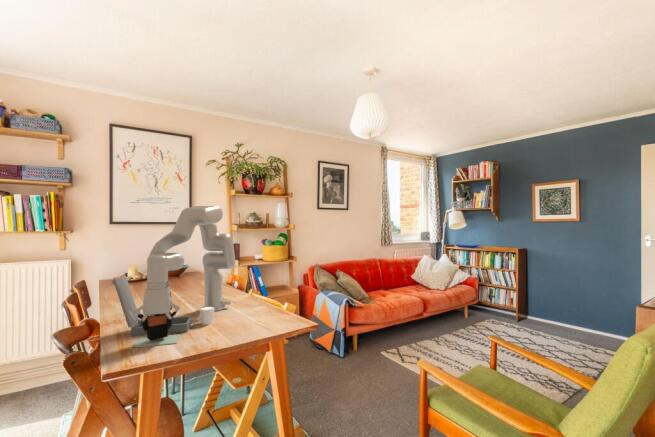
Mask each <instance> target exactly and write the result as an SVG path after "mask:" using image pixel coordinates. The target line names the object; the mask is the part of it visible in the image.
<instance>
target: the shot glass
mask: <svg viewBox="0 0 655 437" xmlns="http://www.w3.org/2000/svg"><path fill="white" fill-rule="evenodd" d="M202 307H203V306H202ZM202 307H201V308H199V310H198V311H199V320H200V321H199V322H200V324H201V325H205V326H207V325H211V324H213V323H214V318H215V317H214V316H215V311H214V307H203V308H202Z"/></svg>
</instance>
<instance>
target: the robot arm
mask: <svg viewBox="0 0 655 437" xmlns="http://www.w3.org/2000/svg"><path fill="white" fill-rule="evenodd" d="M223 215H224V214H223V210H222V208H221V207H220V206H218V205H194V206H190V207H186V208H184V209H182V210H181V212H180V213H179V216H178V218H177V219H176V222H175V224H174V226H173V228H172V230H171V231H170V232H169V233H167V234H166V235H164V236H163V237H162V238H160V239H159V240H158V241H157V242H156V243H155V244H154V245H153V246H152V248H151V251H150V253H149V254H148V257H147V260H146V289H145V290H144V295H143V300H142V305H140V306H138V308H136V310H135V311H134V313H135V314H136V315H137V316H138V317H139V318H140V319H141V320H142V321H143V329H144V331H147V316H149V315H156V314H166V316H167V317H168V319H167V329H170V326H172V318H173V317H174V316H176V314H177V313H178V312H179V310H180V309H181V307H180V306H179V305H177V304H176V303H173V297H172V291H171V287H170V286H172V285H173V282H172V281H169V272H171V271H172V272H173V271H178V270H180V269H182V268H183V266H184V264H185V258H184V256H183V255H182V254H181V253H177V252H167V251H169V250H170V249H172V248H174V247H176V246H180V245H182V244H185V243H186V242H188V241H190V239H191V238H192V236H193V233H194V232H195V229H196V226H198V227H199V229H200V235H201V241H202V247H203V249H204V250H206V251H208V252H206V253H205V254H204V255H203V257H202V266H203V273H204V276H203V277H204V278H203V280H204V285H203V286H204V289H203V290H204V292H203V293H204V302H203V303H204V305H203V306H201V308H203V307H214V312H217V311H218V312H219V311H222V310H224V309H226V306H230V305H231V303H232V301H231V300H224V298H223V274H222V272H221V271H220V270H231V269H233V268H234V267H235V265H236V254H235V247H234V241H233V238H232V236H231V235H230V234H229V233H219V232H218V228H217V227H218V226H217V224H218V223H219V222H220V221H221V220H222V219H223ZM172 309H174V311H173V312H171V311H172ZM141 311H142V312H141Z"/></svg>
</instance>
